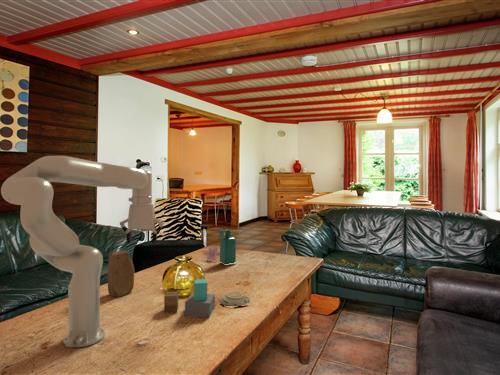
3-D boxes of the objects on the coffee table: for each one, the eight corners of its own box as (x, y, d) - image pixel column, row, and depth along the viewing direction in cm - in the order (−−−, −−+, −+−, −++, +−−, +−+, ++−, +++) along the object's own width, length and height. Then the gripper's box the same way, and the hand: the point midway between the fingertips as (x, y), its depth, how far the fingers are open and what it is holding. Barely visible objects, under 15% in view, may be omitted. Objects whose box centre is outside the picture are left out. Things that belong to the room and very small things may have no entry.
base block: (209, 318, 130) (209, 303, 130) (184, 316, 131) (185, 302, 131) (214, 308, 140) (214, 294, 140) (191, 306, 141) (192, 293, 141)
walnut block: (176, 312, 134) (176, 295, 134) (164, 313, 134) (164, 296, 134) (178, 308, 139) (178, 291, 139) (166, 308, 139) (166, 291, 139)
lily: (200, 261, 220) (199, 250, 215) (213, 251, 228) (212, 241, 222) (213, 269, 213) (212, 258, 208) (225, 259, 221) (225, 249, 216)
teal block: (207, 299, 134) (207, 282, 133) (194, 300, 133) (194, 283, 132) (205, 295, 139) (206, 278, 138) (193, 296, 137) (194, 279, 137)
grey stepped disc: (214, 307, 141) (248, 310, 138) (214, 299, 141) (248, 302, 138) (223, 295, 156) (255, 298, 153) (223, 288, 156) (255, 290, 153)
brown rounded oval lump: (113, 298, 148) (114, 254, 148) (106, 294, 153) (106, 252, 153) (136, 292, 157) (136, 250, 156) (127, 288, 161) (128, 248, 161)
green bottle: (229, 261, 216) (229, 228, 215) (237, 264, 210) (237, 229, 209) (216, 263, 210) (217, 229, 209) (224, 266, 203) (224, 231, 203)
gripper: (117, 201, 129) (117, 244, 130) (162, 201, 131) (161, 244, 132) (122, 200, 137) (122, 241, 137) (165, 200, 138) (164, 240, 139)
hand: (141, 242), depth 134 cm, fingers open, 9 cm apart
